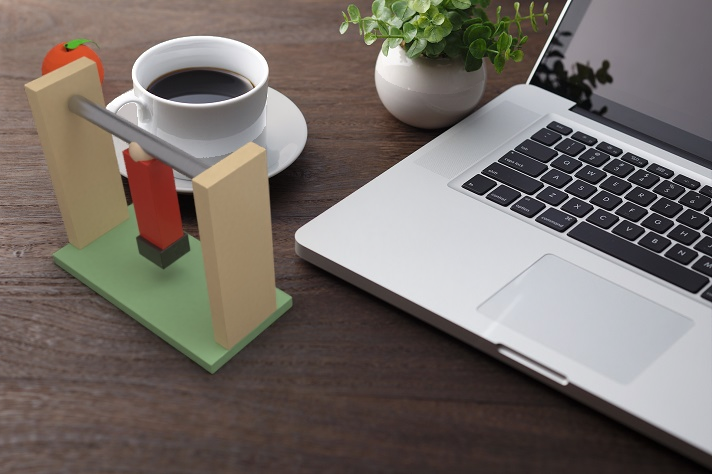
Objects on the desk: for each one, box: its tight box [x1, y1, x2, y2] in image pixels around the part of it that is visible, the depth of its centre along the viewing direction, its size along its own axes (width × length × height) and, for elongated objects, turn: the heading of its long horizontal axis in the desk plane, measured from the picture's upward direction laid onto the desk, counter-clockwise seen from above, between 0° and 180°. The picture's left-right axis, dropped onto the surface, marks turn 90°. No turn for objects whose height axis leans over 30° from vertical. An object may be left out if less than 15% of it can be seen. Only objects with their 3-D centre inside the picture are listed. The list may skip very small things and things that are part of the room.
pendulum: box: [68, 94, 213, 270], centre depth 69 cm, size 17×3×13 cm, turn 52°
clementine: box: [40, 38, 105, 87], centre depth 96 cm, size 8×7×7 cm
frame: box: [23, 57, 293, 375], centre depth 69 cm, size 21×10×18 cm, turn 52°
